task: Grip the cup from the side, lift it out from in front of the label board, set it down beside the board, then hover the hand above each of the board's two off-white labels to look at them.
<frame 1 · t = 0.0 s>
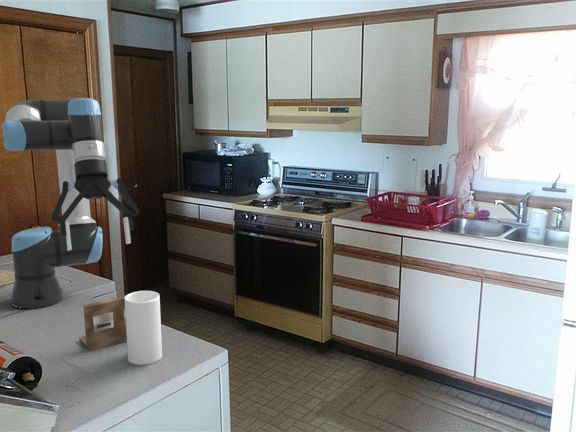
hand: (99, 246, 125), 28 cm above the counter, tool tilted 20°, fingers open, 13 cm apart
cup: (145, 357, 129), on the counter
label board: (118, 341, 137), on the counter
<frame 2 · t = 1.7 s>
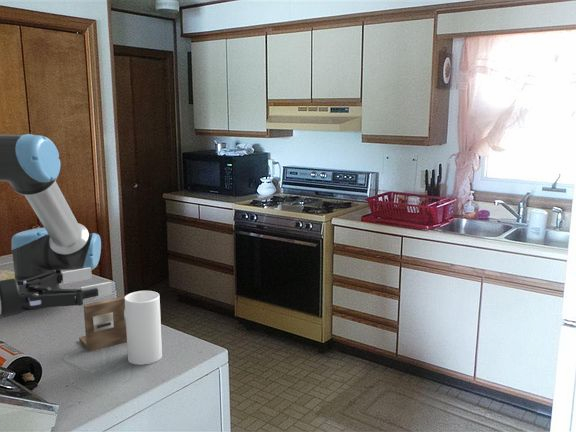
hand: (101, 280, 119), 22 cm above the counter, tool horizontal, fingers open, 13 cm apart
nothing on the counter moved.
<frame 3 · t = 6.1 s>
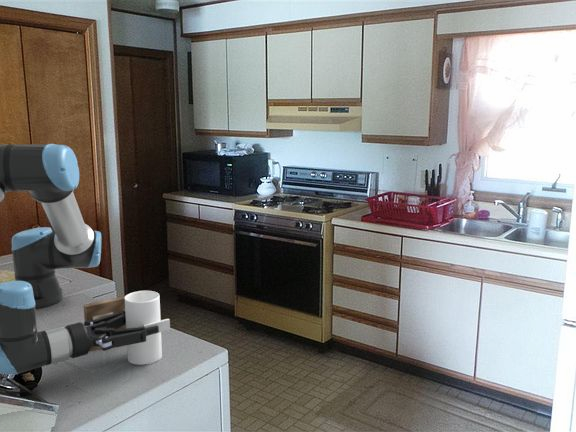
hand: (161, 318, 130), 9 cm above the counter, tool horizontal, fingers closed on cup, 8 cm apart
cup: (145, 357, 129), on the counter, touching gripper
when the fingers open (10 cm above the counter, at t = 10.9 s): cup drops 1 cm, on the counter.
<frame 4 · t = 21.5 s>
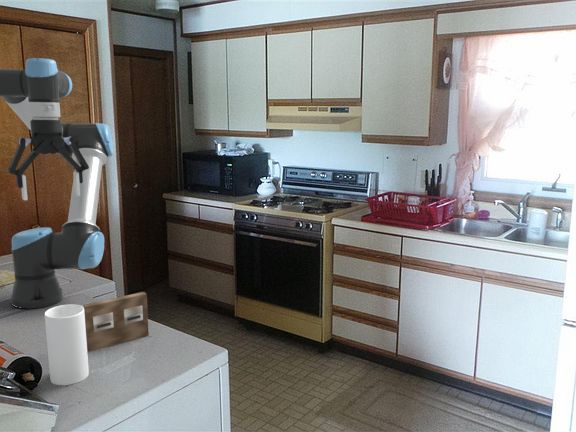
hand: (52, 197, 142), 37 cm above the counter, tool pointing down, fingers open, 13 cm apart
cup: (69, 377, 120), on the counter
at the end: cup inside the target area (0.1 cm from its centre), on the counter; cup tilted 0°; the gripper is holding nothing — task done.
